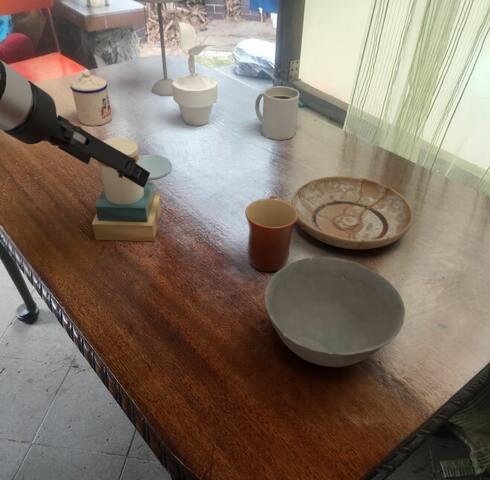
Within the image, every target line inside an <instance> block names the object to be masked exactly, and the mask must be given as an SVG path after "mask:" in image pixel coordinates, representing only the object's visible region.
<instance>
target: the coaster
mask: <svg viewBox="0 0 490 480" xmlns="http://www.w3.org/2000/svg"><path fill="white" fill-rule="evenodd" d="M139 155H140V164H141V167H142V168H144V169H145V170H147V171H148V172H150V175H149V178H148V180H147V181H152V180H153V181H154V180H158V179H161V178H164V177H166V176H167V175H169V174H170V173H171V172H172V171H173V170H172V169H173V164H172V162H171V160H170V159H169V158H167V157H165V156H163V155H159V154H139Z"/></svg>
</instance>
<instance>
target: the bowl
mask: <svg viewBox="0 0 490 480" xmlns="http://www.w3.org/2000/svg"><path fill="white" fill-rule="evenodd" d="M264 307H265V310H266V313H267V315H268V318H269V320H270V323H271V324H272V326H273V328H274V330H275V332H276V333H277V335H278V336H279V338H280V340H282V342H283V343H284V344H285V346H286V347H287V348H288V349H289V350H290V351H291V352H293V353H294V354H295V355H296V356H298V357H299V358H301V359H302V360H304V361H306V362H308V363H311V364H313V365H314V364H315V365H316V366H321V367H328V368H329V367H330V368H341V367H347V366H352V365H355V364H358V363H360V362H362V361H364V360H366V359H368V358H369V357H371V356H373V355H374V354H376V353H377V352H378V351H380V350H381V349H383V348H385V347H386V346H387V345H388V344H390V343H391V342H392V341H393V340H394V339H395V338H396V337H397V336H398V335H399V333H400V332H401V329H402V327H403V326H404V322H405V317H406V307H405V303H404V300H403V299H402V297H401V293H399V292H398V290H397V289H396V287H394V285H393V284H392V283H391V282H390V281H389V280H387V279H386V278H385V277H383V275H381V274H379V273H378V272H376V271H374V270H373V269H371V268H369V267H368V266H365V265H363V264H362V263H358V262H356V261H351V260H348V259H345V258H339V257H333V256H332V257H330V256H329V257H328V256H315V257H306V258H302V259H297V260H295V261H293V262H290V263H288V264H286V265H285V266H284V267H283V268H281V269H279V270H277V271H275V273H274V274H273V275H272V277H271V278H270V280H268V283H267V284H266V288H265V291H264Z"/></svg>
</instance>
